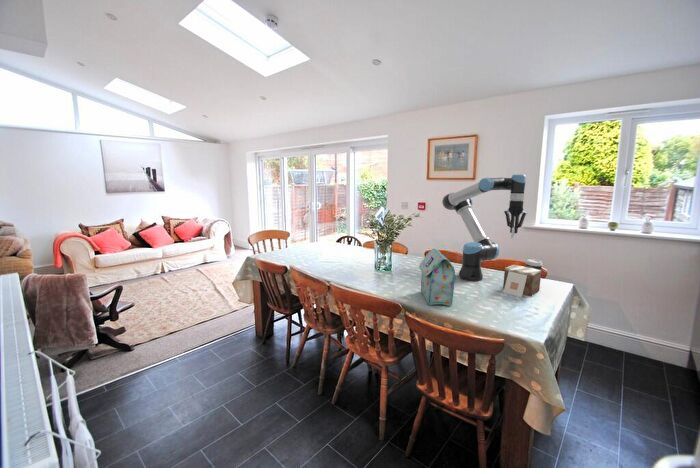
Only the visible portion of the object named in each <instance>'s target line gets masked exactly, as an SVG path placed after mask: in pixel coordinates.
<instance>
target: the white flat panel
mask: <svg viewBox="0 0 700 468" xmlns="http://www.w3.org/2000/svg"><path fill="white" fill-rule="evenodd" d="M526 279H527V275H524V274H519V273H515V272H510V271H509V272H508V276H507V280H506V284H505V288H504V289H503V293H504V294H507V295H512V296H515V297H518V298H522V297H523V295H524V294H523V291H524V287H525V283H526Z"/></svg>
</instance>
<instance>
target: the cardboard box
mask: <svg viewBox="0 0 700 468" xmlns="http://www.w3.org/2000/svg"><path fill="white" fill-rule="evenodd" d="M509 271H510V272H515V273H519V274H524V275H527V279H526V283H525V287H524V291H523V295H526V296H529V297H533V296H534V295H535V294H537V293H539V292H540V287H541V278H542V269H541V270H538V269H533V268H528V267H526V266H522V265H517V264H512V265H509V266H507V267H505V268H504V271H503V272H504V273H503V285H502V289H503V290H504V288H505V284H506V280H507V276H508V272H509Z"/></svg>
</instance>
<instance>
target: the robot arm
mask: <svg viewBox="0 0 700 468" xmlns="http://www.w3.org/2000/svg"><path fill="white" fill-rule="evenodd" d="M526 179H527V178H526V174H512V175H511V177H483V178H481V179H480V180H479V182H476V183H474V184H472V185H470V186H467V187H465V188H463V189H461V190H458V191H455V192H450V193H448V194H446V195H444V196H443V198H442V201H441V202H442V206H443V207H444V208H445V209H446V210H449V211H453V210H454V211H455V212H456V214H457V215H459V216H460V217H461V220H462V221H463V224H464V226H465V227H466V229H467V231H468V232H469V234H470V237H471V239H472V240H473V242H467V243H465V244H464V245H463V248H462V261H461V262H462V263H461V264H462V265H461V268H460V270H459V272H458V278H460V279H462V280H464V281H471V282H478V281H479V282H480V281H482V280H483V277H484V275H483V271H482V268H481V267H482V266H481V265H482V262H486V261H492V260H495V259H497V258H498V257H499V254H500V246H499V245H498V244H497V242H494V241H493V242H492V240H491V238H490V237H487V235H486V234H485V232H484V229H483V228H482V226H481V225H480V223H479V220H478V219H477V217H476V215H475V213H474V211H473V210H472V209H473V198H474V197H477V196H479V195H482V194H485V193H487V192H491V191H510V193H509V204H508V205H509V206H508V209H506V210H504V212H503V213H504V214H505V219H506V226H507V227H509V232H510V239H512V240H514V239H516V235H517V234H518V231H519V229H520V228H522V225H523V223H524V220H525V218H526V216H527V215H528V212H527V211H525V210H524V200H525V188H526V183H527V181H526ZM520 215H521V217H520Z"/></svg>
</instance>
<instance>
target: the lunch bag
mask: <svg viewBox="0 0 700 468" xmlns="http://www.w3.org/2000/svg"><path fill="white" fill-rule="evenodd" d="M418 268H419V270H420V271H421V281H420V291H421V293H422V295H423V297H424V298H425V300H426V302H427V304H428V305H430V306H431V305H432V306H433V305H444V306H448V307H449V306H452V305H453V302H454V301H453V300H454V290H455V283H456V282H455V281H456V270H455V267H454V266H453V264H452V262H451V261H450V260H449V259H448V258H447V257H446V256H445V255H444V254H443V253H441V251H440V250H439V249H436V248H431V250H429V251H428V253H427V254H426V255H425V256H424V258H423V259H422V260H421V261H420V263H419V266H418Z"/></svg>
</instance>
